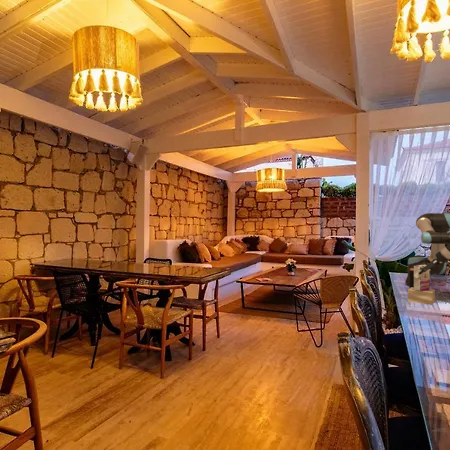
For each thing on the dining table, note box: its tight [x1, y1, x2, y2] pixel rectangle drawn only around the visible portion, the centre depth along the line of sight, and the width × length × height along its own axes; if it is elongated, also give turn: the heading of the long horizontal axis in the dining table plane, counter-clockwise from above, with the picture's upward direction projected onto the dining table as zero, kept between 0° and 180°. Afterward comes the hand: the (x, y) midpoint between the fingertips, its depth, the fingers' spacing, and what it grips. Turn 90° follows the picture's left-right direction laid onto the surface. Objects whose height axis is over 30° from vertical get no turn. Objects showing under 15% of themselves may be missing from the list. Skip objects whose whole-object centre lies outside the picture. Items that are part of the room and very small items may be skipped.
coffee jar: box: [408, 268, 414, 290], centre depth 258 cm, size 11×11×18 cm
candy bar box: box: [414, 265, 431, 291], centre depth 234 cm, size 11×5×16 cm, turn 121°
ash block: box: [407, 287, 436, 306], centre depth 235 cm, size 12×14×8 cm
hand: (418, 275), depth 236 cm, fingers open, 13 cm apart
